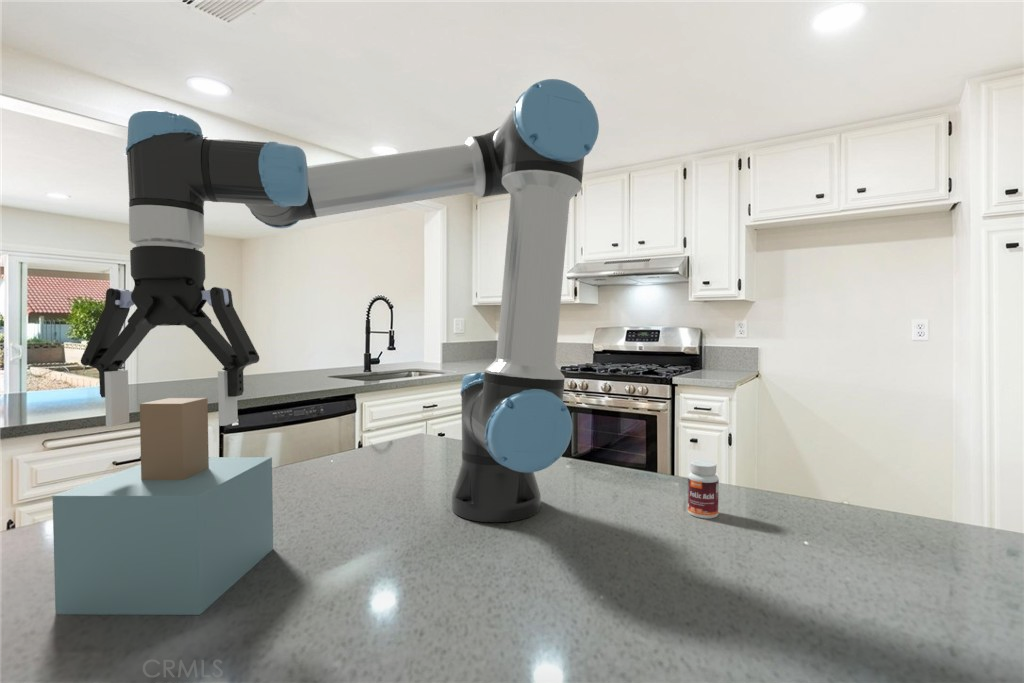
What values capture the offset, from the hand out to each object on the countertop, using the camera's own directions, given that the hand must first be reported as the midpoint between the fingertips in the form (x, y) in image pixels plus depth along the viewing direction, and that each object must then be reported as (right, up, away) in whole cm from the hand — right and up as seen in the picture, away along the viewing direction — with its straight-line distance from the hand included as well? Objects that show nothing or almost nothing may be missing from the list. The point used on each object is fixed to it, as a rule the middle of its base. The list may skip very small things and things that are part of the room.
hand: (173, 424), depth 63 cm
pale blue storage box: (0, -19, +1) cm, 19 cm away
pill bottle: (+72, -18, +22) cm, 78 cm away
